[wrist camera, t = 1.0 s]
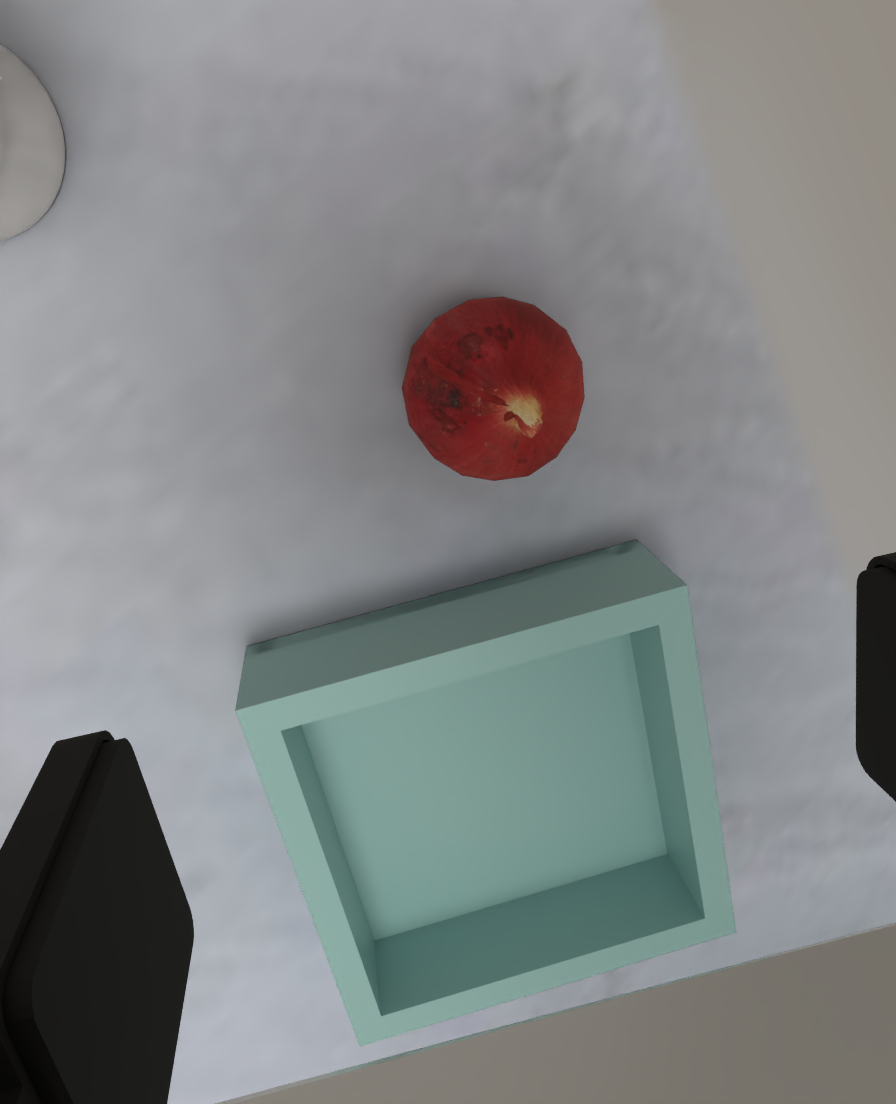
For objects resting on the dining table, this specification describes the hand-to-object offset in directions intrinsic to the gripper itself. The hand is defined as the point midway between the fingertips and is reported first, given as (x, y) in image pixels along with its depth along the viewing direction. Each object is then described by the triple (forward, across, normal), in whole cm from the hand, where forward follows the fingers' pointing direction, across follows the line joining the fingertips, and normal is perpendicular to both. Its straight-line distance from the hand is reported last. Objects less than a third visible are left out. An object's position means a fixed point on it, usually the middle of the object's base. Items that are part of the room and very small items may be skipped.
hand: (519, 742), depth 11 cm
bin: (+22, -2, +16) cm, 27 cm away
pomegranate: (+22, -4, -1) cm, 23 cm away
